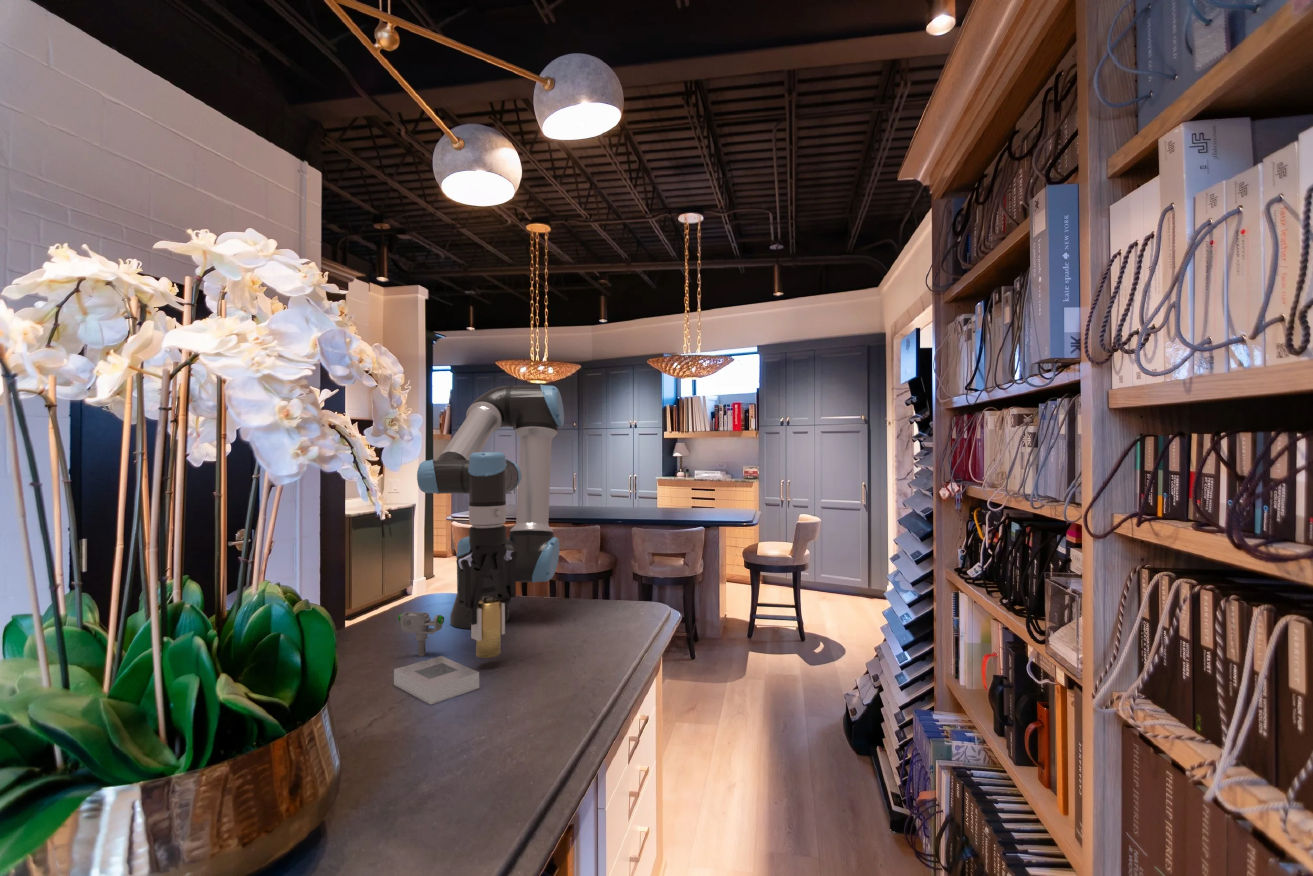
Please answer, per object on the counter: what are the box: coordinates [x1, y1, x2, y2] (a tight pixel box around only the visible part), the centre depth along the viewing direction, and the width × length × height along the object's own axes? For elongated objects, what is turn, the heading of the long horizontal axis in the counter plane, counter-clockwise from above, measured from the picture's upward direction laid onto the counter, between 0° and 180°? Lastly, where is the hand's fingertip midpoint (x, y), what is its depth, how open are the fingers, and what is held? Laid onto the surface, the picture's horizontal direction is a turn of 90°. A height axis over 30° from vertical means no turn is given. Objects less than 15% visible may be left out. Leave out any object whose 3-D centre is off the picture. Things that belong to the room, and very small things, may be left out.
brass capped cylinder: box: [475, 595, 502, 659], centre depth 133 cm, size 5×5×12 cm
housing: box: [393, 655, 480, 706], centre depth 122 cm, size 14×10×4 cm
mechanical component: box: [398, 611, 445, 657], centre depth 140 cm, size 3×10×10 cm, turn 79°
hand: (488, 635), depth 133 cm, fingers closed on brass capped cylinder, 5 cm apart
